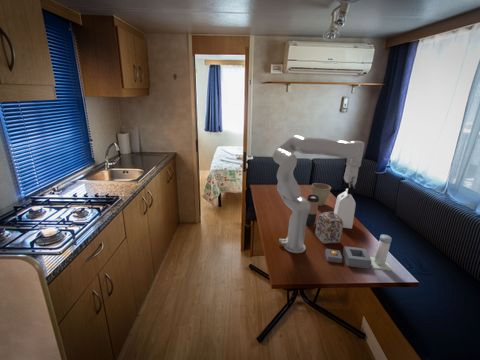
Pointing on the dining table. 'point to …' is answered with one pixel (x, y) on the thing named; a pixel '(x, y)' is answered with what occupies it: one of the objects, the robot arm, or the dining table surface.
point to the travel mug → (312, 209)
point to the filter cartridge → (382, 250)
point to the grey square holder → (356, 257)
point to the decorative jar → (329, 227)
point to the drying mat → (375, 266)
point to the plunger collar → (333, 256)
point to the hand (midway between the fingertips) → (348, 191)
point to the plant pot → (321, 192)
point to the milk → (345, 208)
